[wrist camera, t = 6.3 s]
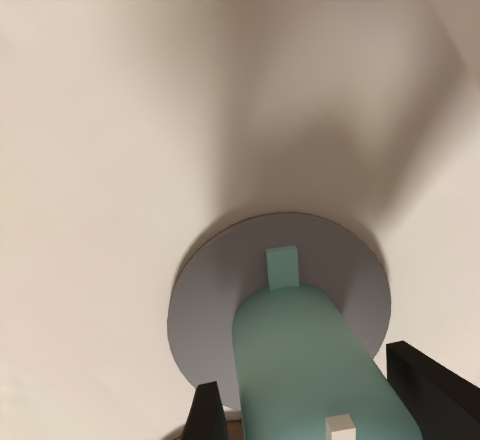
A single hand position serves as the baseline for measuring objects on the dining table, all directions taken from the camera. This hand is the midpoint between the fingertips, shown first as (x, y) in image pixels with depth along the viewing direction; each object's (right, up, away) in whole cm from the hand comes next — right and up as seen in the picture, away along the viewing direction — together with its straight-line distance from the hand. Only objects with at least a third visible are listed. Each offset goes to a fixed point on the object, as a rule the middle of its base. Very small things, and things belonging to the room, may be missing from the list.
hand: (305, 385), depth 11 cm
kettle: (0, +1, +3) cm, 3 cm away
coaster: (0, +1, +4) cm, 4 cm away
